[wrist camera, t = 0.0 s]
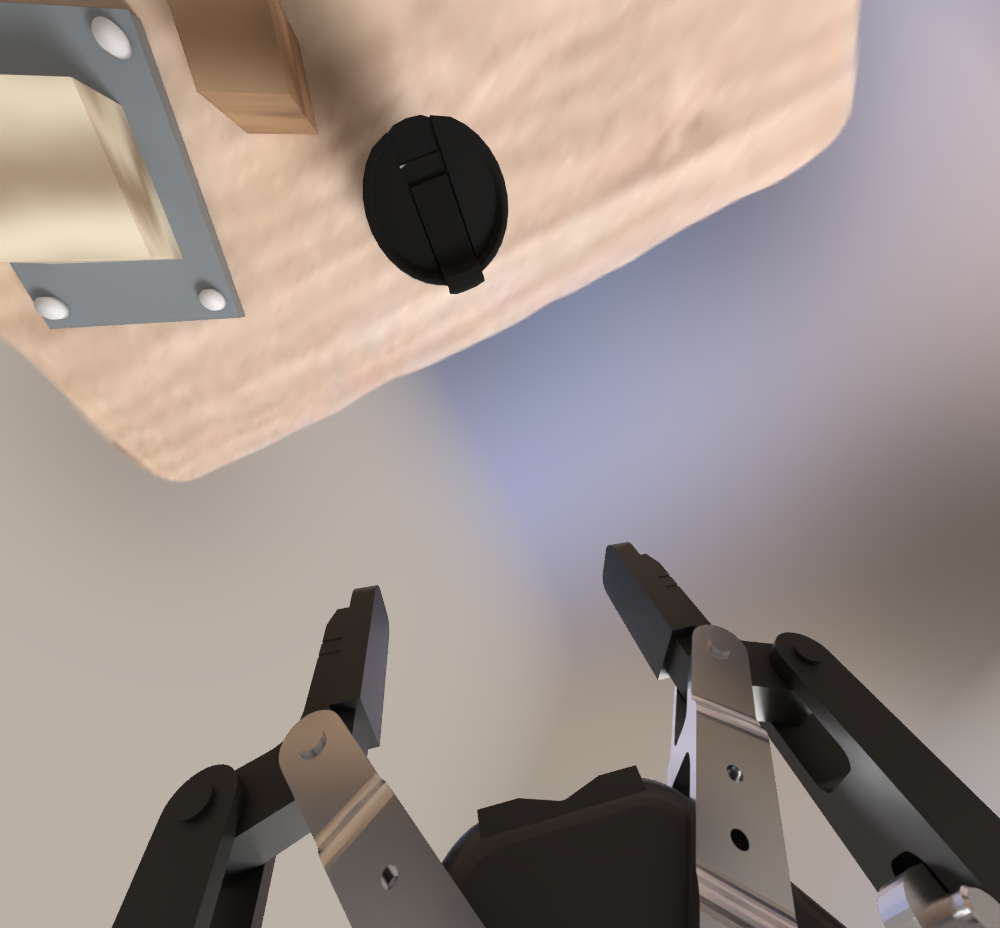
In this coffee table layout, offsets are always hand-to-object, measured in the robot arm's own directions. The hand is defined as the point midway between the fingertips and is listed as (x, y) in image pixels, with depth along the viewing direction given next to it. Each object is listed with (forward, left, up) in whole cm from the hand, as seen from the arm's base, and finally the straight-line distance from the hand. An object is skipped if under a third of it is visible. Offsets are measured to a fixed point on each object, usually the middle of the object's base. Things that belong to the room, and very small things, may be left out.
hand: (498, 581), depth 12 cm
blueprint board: (-16, -24, -29) cm, 41 cm away
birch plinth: (-16, -24, -28) cm, 40 cm away
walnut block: (-22, -10, -29) cm, 38 cm away
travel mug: (-12, 0, -30) cm, 32 cm away
